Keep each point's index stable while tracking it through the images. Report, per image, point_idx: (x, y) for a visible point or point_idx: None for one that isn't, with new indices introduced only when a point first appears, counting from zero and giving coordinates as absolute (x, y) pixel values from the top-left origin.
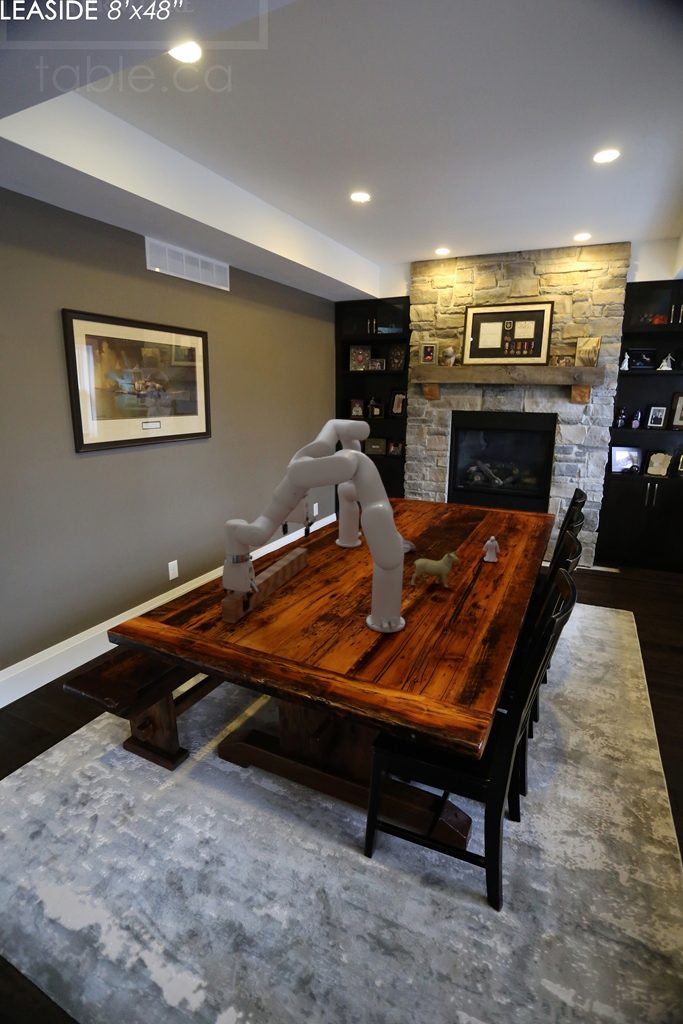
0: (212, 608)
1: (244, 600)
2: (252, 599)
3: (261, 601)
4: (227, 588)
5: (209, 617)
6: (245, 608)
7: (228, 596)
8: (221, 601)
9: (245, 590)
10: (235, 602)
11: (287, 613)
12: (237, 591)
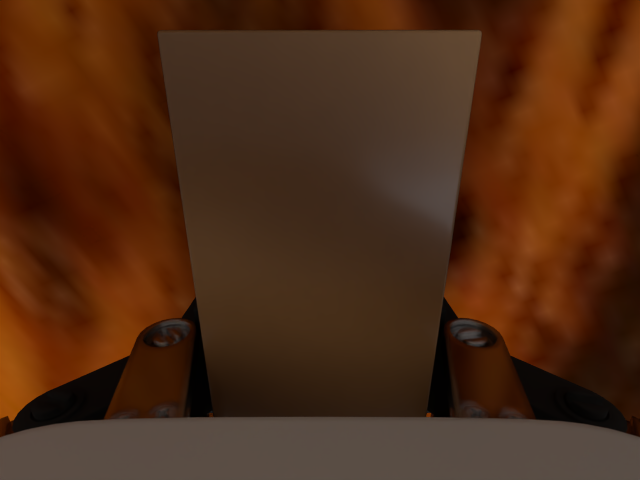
0: (577, 266)
1: (196, 317)
2: None
3: None
4: (548, 428)
5: (538, 104)
6: None
7: (426, 267)
8: (470, 36)
9: (5, 457)
10: (179, 117)
11: (5, 383)
12: None
